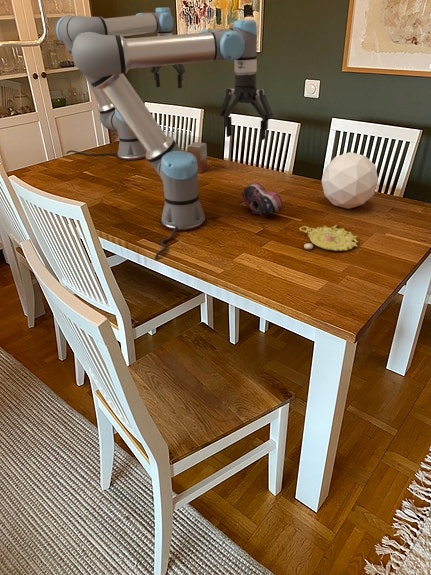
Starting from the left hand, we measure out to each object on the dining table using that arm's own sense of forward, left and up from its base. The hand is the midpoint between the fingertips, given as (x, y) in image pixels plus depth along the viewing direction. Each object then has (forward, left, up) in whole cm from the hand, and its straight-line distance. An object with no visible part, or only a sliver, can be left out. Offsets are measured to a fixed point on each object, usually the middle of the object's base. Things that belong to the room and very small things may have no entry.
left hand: (169, 87), depth 239 cm
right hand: (+86, -55, -4) cm, 102 cm away
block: (+48, -37, -27) cm, 66 cm away
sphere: (+121, -40, -27) cm, 131 cm away
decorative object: (+128, -70, -27) cm, 148 cm away
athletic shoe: (+96, -63, -27) cm, 118 cm away
